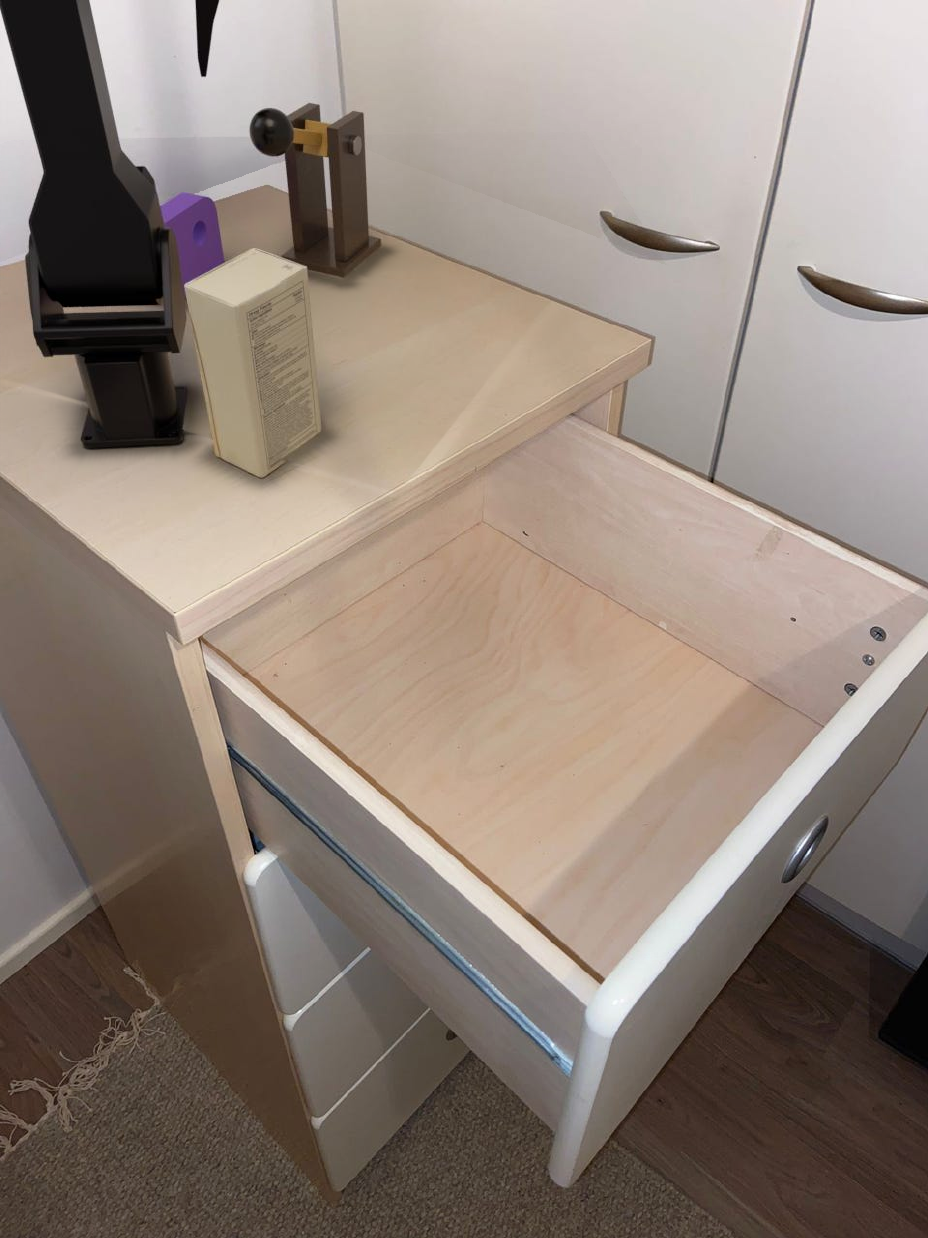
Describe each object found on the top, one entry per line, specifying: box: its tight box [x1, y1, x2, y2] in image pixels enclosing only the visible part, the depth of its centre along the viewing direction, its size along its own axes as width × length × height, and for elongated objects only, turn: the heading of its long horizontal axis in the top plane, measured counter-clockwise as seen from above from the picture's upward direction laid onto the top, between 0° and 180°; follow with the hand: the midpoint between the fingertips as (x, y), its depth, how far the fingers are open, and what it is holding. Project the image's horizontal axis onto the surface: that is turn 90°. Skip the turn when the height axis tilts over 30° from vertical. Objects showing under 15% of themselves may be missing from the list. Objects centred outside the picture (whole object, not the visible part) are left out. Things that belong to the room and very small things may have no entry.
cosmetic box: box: [184, 247, 322, 479], centre depth 61 cm, size 6×4×12 cm
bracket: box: [160, 192, 226, 299], centre depth 80 cm, size 12×7×7 cm, turn 69°
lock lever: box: [248, 107, 332, 159], centre depth 75 cm, size 11×3×3 cm, turn 157°
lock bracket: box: [280, 102, 382, 278], centre depth 81 cm, size 7×6×12 cm
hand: (143, 75), depth 76 cm, fingers open, 9 cm apart
